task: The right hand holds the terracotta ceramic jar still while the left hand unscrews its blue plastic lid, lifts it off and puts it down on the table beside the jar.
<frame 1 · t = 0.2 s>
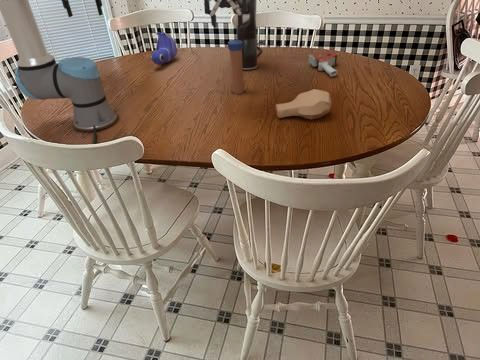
left hand: (85, 15, 157), 28 cm above the table, tool pointing down, fingers open, 13 cm apart
right hand: (227, 26, 121), 29 cm above the table, tool pointing down, fingers open, 8 cm apart
lid: (235, 43, 138), point 20 cm above the table, screwed on, not yet turned
squash: (303, 116, 129), on the table
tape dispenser: (323, 69, 167), on the table
toy: (164, 64, 185), on the table
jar: (238, 91, 150), on the table
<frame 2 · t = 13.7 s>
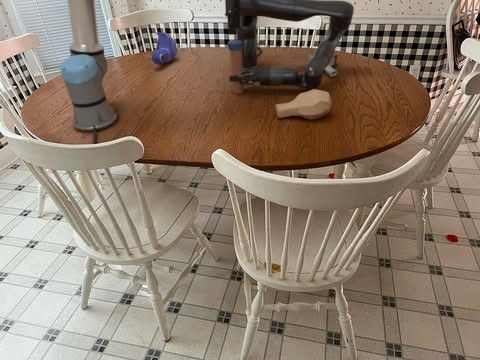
left hand: (234, 31, 136), 24 cm above the table, tool pointing down, fingers open, 8 cm apart
right hand: (230, 76, 147), 7 cm above the table, tool horizontal, fingers closed on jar, 4 cm apart
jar: (238, 91, 150), on the table, touching right hand
everything else where it was.
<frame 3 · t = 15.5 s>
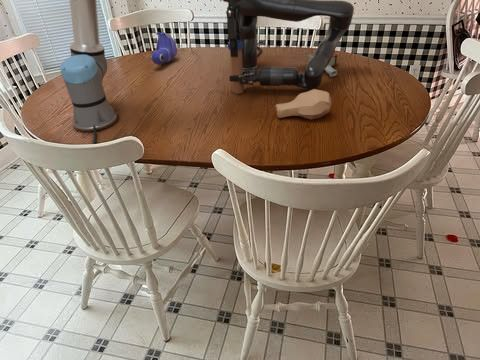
left hand: (235, 54, 141), 16 cm above the table, tool pointing down, fingers closed on lid, 6 cm apart
right hand: (230, 76, 147), 7 cm above the table, tool horizontal, fingers closed on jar, 4 cm apart
lid: (235, 43, 138), point 20 cm above the table, screwed on, not yet turned, touching left hand
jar: (238, 91, 150), on the table, touching right hand
everything else where it was.
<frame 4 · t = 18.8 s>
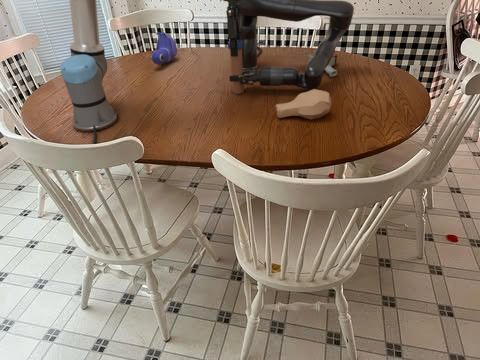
left hand: (235, 53, 141), 16 cm above the table, tool pointing down, fingers closed on lid, 6 cm apart
right hand: (231, 76, 147), 7 cm above the table, tool horizontal, fingers closed on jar, 4 cm apart
lid: (235, 42, 138), point 20 cm above the table, turned 102° so far, risen 0.2 cm, still on its thread, touching left hand
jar: (238, 91, 150), on the table, touching right hand
everything else where it was.
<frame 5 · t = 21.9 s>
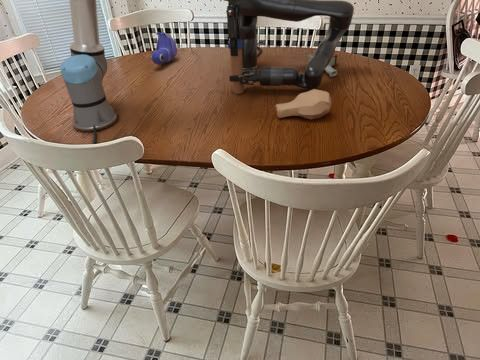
left hand: (235, 53, 141), 16 cm above the table, tool pointing down, fingers closed on lid, 6 cm apart
right hand: (231, 76, 147), 7 cm above the table, tool horizontal, fingers closed on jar, 4 cm apart
lid: (235, 42, 138), point 20 cm above the table, turned 204° so far, risen 0.3 cm, still on its thread, touching left hand
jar: (238, 91, 150), on the table, touching right hand
everything else where it was.
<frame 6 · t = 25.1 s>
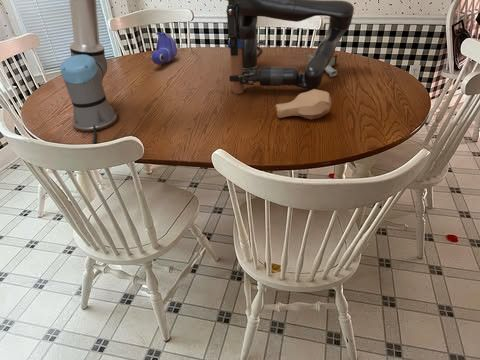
left hand: (235, 52, 141), 16 cm above the table, tool pointing down, fingers closed on lid, 6 cm apart
right hand: (231, 76, 147), 7 cm above the table, tool horizontal, fingers closed on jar, 4 cm apart
lid: (235, 41, 138), point 20 cm above the table, turned 306° so far, risen 0.5 cm, still on its thread, touching left hand
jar: (238, 91, 150), on the table, touching right hand
everything else where it was.
when the left hand's fingers open (0 cm above the table, at t = 34.3 s): lid drops 3 cm, point 2 cm above the table.
when the right hand's fingers open (7 cm above the table, at t = 36.1 s): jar stays where it is, on the table.
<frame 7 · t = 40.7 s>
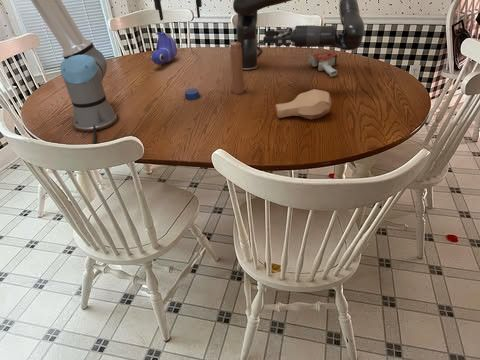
left hand: (180, 18, 130), 31 cm above the table, tool pointing down, fingers open, 13 cm apart
right hand: (264, 36, 135), 22 cm above the table, tool horizontal, fingers open, 8 cm apart
lid: (191, 92, 147), point 2 cm above the table, off its thread
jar: (238, 91, 150), on the table
everything else where it was.
at the end: lid came off its thread; lid point 2.0 cm above the table; the left hand is holding nothing; the right hand is holding nothing; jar tilted 0°; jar moved 0.0 cm from its start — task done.
